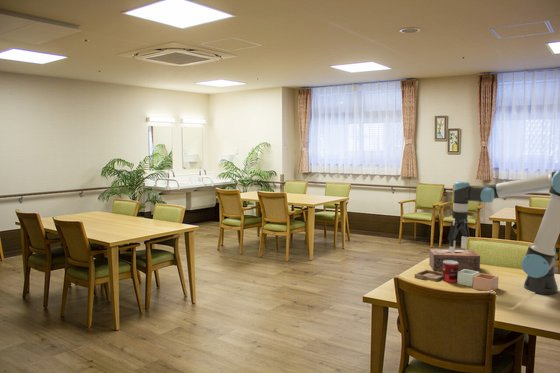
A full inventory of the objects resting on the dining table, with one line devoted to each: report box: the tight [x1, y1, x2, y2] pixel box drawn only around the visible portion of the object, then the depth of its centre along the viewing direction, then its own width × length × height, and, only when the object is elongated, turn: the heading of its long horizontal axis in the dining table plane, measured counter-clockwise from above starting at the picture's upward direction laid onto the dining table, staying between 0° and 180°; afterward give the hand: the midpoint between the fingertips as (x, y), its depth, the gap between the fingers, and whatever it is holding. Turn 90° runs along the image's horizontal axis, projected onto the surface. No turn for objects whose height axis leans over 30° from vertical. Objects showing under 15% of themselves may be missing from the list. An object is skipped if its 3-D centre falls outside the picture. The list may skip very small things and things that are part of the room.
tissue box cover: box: [429, 248, 481, 274], centre depth 284 cm, size 26×14×10 cm, turn 82°
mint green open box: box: [456, 269, 480, 288], centre depth 253 cm, size 8×8×7 cm
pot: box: [472, 272, 499, 292], centre depth 244 cm, size 9×9×7 cm
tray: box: [414, 269, 443, 282], centre depth 266 cm, size 13×13×2 cm
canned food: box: [442, 260, 458, 284], centre depth 258 cm, size 8×8×11 cm
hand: (457, 250), depth 255 cm, fingers open, 13 cm apart
